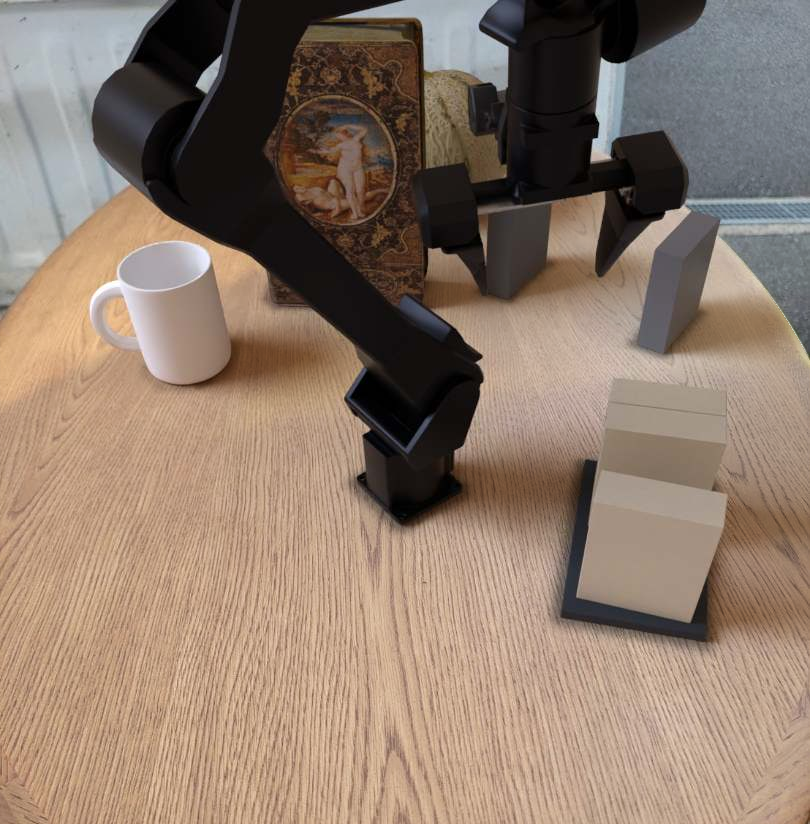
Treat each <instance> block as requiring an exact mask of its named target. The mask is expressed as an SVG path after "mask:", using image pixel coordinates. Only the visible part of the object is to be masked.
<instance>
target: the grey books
mask: <svg viewBox="0 0 810 824" xmlns="http://www.w3.org/2000/svg"><path fill="white" fill-rule="evenodd" d="M552 208H553V203H550V204H544V205H538V206H532V207H526V208H519V209H513V210H507V211H501V212H495V213H489V214H487V229H486V252H485V253H486V255H485V263H486V271H487V278H488V294H491V295H494V296H497V297H500V298H502V299H506V300H509V299H510V298H511V297H513V295H515V293H517V292H518V291H519V290H520V289H521V288H522V287H523V286H524V285H525V284H526V283H527V282H529V280H531V279H532V278H533V277H534V276H535V275H536V274H537V273H539V271H540V270H541V269H542V268H544V267H545V266H546V265H547V261H548V260H547V258H548V249H549V237H550V228H551V219H552ZM721 221H722V218H720V217H717V216H714V215H710V214H706V213H704V212H698V211H695V210H691V211H690V212H689V213H688V214H687V215H686V216H685V217H684V218H683V219H682V220H681V221H680V222H679V224H677V225H676V226H675V227H674V229H672V231H671V232H670V233H669V234H668V235H667V236H666V237H665V238H664V239H663V240H662V241H661V243H659V244H658V246H657V247H656V248H655V249H654V251H653V257H652V262H651V266H650V272H649V277H648V282H647V288H646V291H645V292H646V293H645V299H644V303H643V307H642V313H641V319H640V323H639V329H638V333H637V337H636V338H637V339H636V344H635V345H637V346H639V347H642V348H645V349H647V350H648V349H649V350H651V351H653V352H656V353H659V354H661V355H664V354H665V353H666V352H667V351H668V349H669V348H670V347H671V345H672V344H673V343H674V342H675V341H676V339H677V338H678V337H679V336H680V335H681V334H682V332H683V331H684V330H685V329H686V327H687V326H688V325H689V324H690V322H692V320H693V319H694V318H695V316H696V315H697V314H698V312H699V308H700V304H701V300H702V296H703V292H704V288H705V284H706V281H707V276H708V272H709V268H710V264H711V260H712V256H713V252H714V248H715V244H716V240H717V236H718V232H719V228H720V224H721Z"/></svg>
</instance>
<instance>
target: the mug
mask: <svg viewBox="0 0 810 824" xmlns="http://www.w3.org/2000/svg"><path fill="white" fill-rule="evenodd" d="M116 277H117V279H116V280H112V281H109V282H106V283H105V284H103V285H101V286H100V287H99V288H98V289H97V290H96V291H95V292H94V294H93V295H92V297H91V300H90V303H89V318H90V322H91V325H92V327H93V329H94V330H95V332H96V333H97V335H98V336H99V338H101V339H102V340H103V341H104V342H105V343H106V344H107V345H109V346H111V347H113V348H114V349H116V350H120V351H123V352H128V353H141V354H142V357H143V360H144V363H145V365H146V367H147V369H148V371H149V373H151V375H152V376H153V377H155V378H156V379H157V380H159V381H162V382H163V383H167V384H172V385H180V386H182V385H184V386H185V385H194V384H198V383H202V382H204V381H207V380H209V379H211V378H213V377H215V376H216V375H218V374H219V373H220V372H221V371H223V369H225V367H226V366H228V365H227V364H228V363H229V361H230V359H231V356H232V344H231V339H230V338H231V337H230V335H229V330H228V325H227V321H226V317H225V312H224V307H223V303H222V298H221V295H220V294H221V293H220V290H219V285H218V282H217V278H216V273H215V268H214V264H213V259H212V256H211V254H210V252H209V251H208V250H207V249H206V248H205V247H203V246H201V245H199V244H198V243H195V242H191V241H185V240H165V241H158V242H155V243H150V244H147V245H144V246H142V247H139V248H137V249H135V250H134V251H132V252H130V253H128V254H127V255H126V256H125V257H124V258H122V260H121V261H120V262H119V264H118V266H117V269H116ZM122 298H124V301H125V305H126V307H127V312H128V314H129V317H130V321H131V323H132V324H131V325H132V327H133V330H134V333H135V336H125V335H122V334H119V333H117V332H116V331H115V330H113V328H112V327H111V326H110V324H109V322H108V320H107V318H106V308H107V305H108V304H109V303H110V302H111V301H113V300H117V299H122Z"/></svg>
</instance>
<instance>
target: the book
mask: <svg viewBox="0 0 810 824" xmlns="http://www.w3.org/2000/svg"><path fill="white" fill-rule="evenodd" d="M424 52H425V51H424V30H423V24H422V22H421V20H420V19H419V18H417V17H414V16H412V17H409V16H408V17H407V16H406V17H404V16H399V17H397V16H396V17H395V16H393V17H391V16H390V17H389V16H388V17H336V18H332V19H328V20H324V21H320V22H316V23H312V24H310V25H309V26H308V28H307V30H306V32H305V33H304V35H303V37H302V39H301V40H300V42H299V44H298V46H297V47H296V49H295V52H294V56H293V60H292V65H291V70H290V75H289V79H288V84H287V89H286V93H285V98H284V103H283V108H282V112H281V116H280V119H279V121H278V123H277V125H276V127H275V129H274V130H273V132H272V134H271V136H270V137H269V139H268V141H267V142H266V144H265V146H264V148H263V149H262V150H263V151H264V153H265V154H266V156H267V157H268V159H269V160H270V162H271V163H272V165H273V167H274V168H275V170H276V172H277V175H278V177H279V180H280V183H281V185H282V188H283V190H284V193H285V196H286V197H287V199H288V201H289V202H290V204H291V205H292V206H293V207H294V208H295V209H296V210H297V211H298V212H299V213H300V214H301V215H302V216H303V217H304V218H305V219H306V220H307V221H308V222H309V223H310V224H311V225H312V226H313V227H314V228H315V229H316V230H317V231H318V232H319V233H320V234H321V235H322V236H323V237H324V238H325V239H326V240H327V241H328V242H329V243H330V244H331V245H332V246H333V247H334V248H335V249H336V250H338V251H339V252H340V253H341V254H342V255H343V256H344V257H345V258H346V259H347V260H348V261H349V262H350V263H351V264H352V265H353V266H354V267H355V268H356V269H357V270H358V271H359V272H360V273H361V274H362V275H363V276H364V277H365V278H366V279H367V280H368V281H369V282H370V283H371V284H372V285H373V286H374V287H375V288H376V289H377V290H378V291H379V292H380V293H381V294H382V295H383V296H384V297H385V298H386V299H387V300H388V301H389V302H390V303H391V304H392V305H393V306H394V307H397V305H398V304H399V302H400V300H401V299H402V297H403V296H404V294H405V293H406V292H407V293H408V294H410V295H411V296H413V297H414V298H415V299H417V300H418V301H419V302H421V303H422V304H423V302H424V301H423V300H424V296H425V279H426V277H427V276H428V275H427V274H428V268H429V248H428V247H426V246H423V243H422V239H421V235H420V231H419V226H418V222H417V218H416V214H415V210H414V206H413V201H412V189H411V180H412V178H413V177H414V175H415V174H416V172H417V171H418V170H420V169H426V132H425V90H424V70H425V54H424ZM265 272H266V278H267V284H268V291H269V294H270V300H271V302H272V303H273V304H275V306H280V307H281V306H286V307H287V306H288V307H289V306H290V307H309V306H308V305H307V304H306V303H305V302H304V301H302V300H301V299H300V298H299V297H298V296H296V295H295V294H294V293H293V292H292V291H291V290H289V289H288V288H287V287H286V286H285V285H284V284H282V283H281V282H280V281H279V280H278V279H276V278H275V277H274V276H273V275H272V274H271V273H269V272H268V271H267V270H266V269H265Z"/></svg>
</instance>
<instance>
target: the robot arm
mask: <svg viewBox="0 0 810 824" xmlns="http://www.w3.org/2000/svg"><path fill="white" fill-rule="evenodd" d="M403 1H404V2H405V0H167V1H166V2H165V3H164V4H163V5H162V6H161V7H160V8H159V9H158V10H157V11H156V12H155V13H154V15H153V16H152V17H151V18H150V19H149V20H148V21H147V22H146V24H145V25H144V27H143V28H142V29H141V31H140V33H139V35H138V37H137V39H136V41H135V43H134V46H132V49H131V51H130V53H129V55H128V56H127V58H126V60H125V62H124V63H123V66H122V67H121V68H118V69H116V70H114V72H113V73H112V74H111V75H109V77H107V79H106V80H105V81H104V82H103V83H102V85H101V86H100V88H99V90H98V93H97V94H96V96H95V99H94V100H93V107H92V113H91V117H90V119H91V120H90V121H91V128H92V134H93V137H92V141H93V144H94V146H95V148H96V150H97V152H98V154H99V155H100V156H101V157H102V158H103V159H104V161H105V162H106V163H107V164H108V165H109V166H110V167H111V168H112V169H113V170H114V171H115V172H116V173H118V174H119V175H120V176H121V177H122V178H123V179H125V180H126V181H127V182H128V183H129V184H130V185H132V187H134V188H135V189H136V190H137V191H138V192H139V193H140V194H142V196H144V197H145V198H146V199H148V201H150V203H152V204H153V205H154V206H155V207H156V208H157V209H158V210H159V211H161V212H162V213H163V214H164V215H165V216H167V217H168V218H170V219H171V220H173V221H175V222H177V223H178V224H180V225H182V226H184V227H186V228H188V229H190V230H192V231H193V232H196V233H197V234H199V235H201V236H203V237H205V238H207V239H208V240H210V241H212V242H214V243H216V244H218V245H221V246H223V247H226V248H229V249H232V250H234V251H238V252H240V253H243V254H245V255H247V257H248V256H249V258H251V259H253V260H254V261H255V262H256V263H257V264H259V265H260V266H262V268H263V269H265V271H266V270H267V271H268V272H269V273H271V274H272V275H273V276H274V277H275V278H276V279H278V280H279V281H280V282H281V283H282V284H284V285H285V286H286V287H287V288H288V289H289V290H291V291H292V292H293V293H294V294H295V295H296V296H298V297H299V298H300V299H301V300H302V301H304V302H305V303H306V304H307V305H308V306H307V307H309V308H311V309H312V310H313V311H314V312H315V313H316V314H317V315H319V316H320V317H321V318H322V319H323V320H324V321H326V322H327V323H328V324H329V325H330V326H332V327H333V328H334V329H335V330H336V331H337V332H339V333H340V334H341V335H343V337H345V338H346V339H347V340H348V341H349V342H350V343H351V344H352V346H353V347H354V349H355V352H356V354H357V355H356V356H357V358H358V360H359V361H360V363H361V364H362V365H363V367H362V369H361V370H360V372H359V373H358V375H357V376H356V378H355V379H354V381H353V383H352V384H351V386H350V387H349V388H348V390H347V392H346V393H345V394H344V397H343V401H344V403H345V405H346V406H347V408H348V410H349V411H350V412H351V414H352V415H354V417H356V418H358V419H359V420H360V421H361V422H362V423H363V424H365V425H366V426H367V427H368V428H369V430H368V431H367V432H364V433H363V434H362V444H363V445H362V446H363V456H364V467H365V471H363V472H361V473H360V474H357V476H356V483H357V485H358V486H359V487H360V488H361V489H362V491H364V492H365V493H366V494H367V495H368V496H369V497H370V498H371V499H372V500H374V502H375V503H376V504H377V505H378V506H379V507H380V508H381V509H382V510H383V511H384V512H385V513H386V514H387V515H389V516H390V518H391V519H392V520H393V521H394V522H395V523H396V524H398V525H406V524H408V523H409V522H411V521H413V520H415V519H417V518H418V517H420V516H422V515H424V514H425V513H428V512H429V511H430V510H432V509H434V508H436V507H438V506H439V505H441V504H443V503H445V502H446V501H448V500H451V499H452V498H454V497H455V496H457V495H459V494H460V493H462V492H463V487H464V486H463V484H462V482H461V481H460V480H459V479H458V478H456V477H455V476H454V475H453V474H452V472H454V469H455V451H458V450H459V449H461V448H463V447H464V445H465V444H466V440H467V436H468V434H469V431H470V428H471V425H472V422H473V420H474V416H475V413H476V410H477V407H478V404H479V401H480V398H481V385H482V384H483V383H484V382H485V374H484V371H483V369H482V367H481V366H480V365H479V364H478V363H477V362H479V361H481V360H482V359H483V357H484V354H483V353H481V352H480V351H478V350H477V349H475V348H474V347H473V346H471V345H470V344H469V343H468V342H466V341H465V339H464V337H463V336H462V334H461V333H460V332H459V331H458V329H457V328H456V327H455V326H454V325H452V324H450V323H449V322H447V320H445V319H444V318H442V317H441V316H439V315H438V314H437V313H436V312H434V311H433V310H432V309H430V308H429V307H428V306H426V305H425V304H424V303H423V302H422V303H421V302H419V301H418V300H417V299H415V298H414V297H413V296H411V295H410V294H408V293H407V292H406V293H405V294H404V296H403V297H402V299H401V300H400V302H399V304H398V305H397V307H394V306H393V305H392V304H391V303H390V302H389V301H388V300H387V299H386V298H385V297H384V296H383V295H382V294H381V293H380V292H379V291H378V290H377V289H376V288H375V287H374V286H373V285H372V284H371V283H370V282H369V281H368V280H367V279H366V278H365V277H364V276H363V275H362V274H361V273H360V272H359V271H358V270H357V269H356V268H355V267H354V266H353V265H352V264H351V263H350V262H349V261H348V260H347V259H346V258H345V257H344V256H343V255H342V254H341V253H340V252H339V251H338V250H336V249H335V248H334V247H333V246H332V245H331V244H330V243H329V242H328V241H327V240H326V239H325V238H324V237H323V236H322V235H321V234H320V233H319V232H318V231H317V230H316V229H315V228H314V227H313V226H312V225H311V224H310V223H309V222H308V221H307V220H306V219H305V218H304V217H303V216H302V215H301V214H300V213H299V212H298V211H297V210H296V209H295V208H294V207H293V206H292V205H291V204H290V202H289V201H288V199H287V197H286V196H285V193H284V190H283V188H282V185H281V183H280V180H279V177H278V175H277V172H276V170H275V168H274V167H273V165H272V163H271V162H270V160H269V159H268V157H267V156H266V154H265V153H264V151H263V150H262V149H263V148H264V146H265V144H266V142H267V141H268V139H269V137H270V136H271V134H272V132H273V130H274V129H275V127H276V125H277V123H278V121H279V119H280V116H281V112H282V108H283V103H284V98H285V93H286V89H287V84H288V79H289V75H290V70H291V65H292V60H293V56H294V52H295V49H296V47H297V46H298V44H299V42H300V40H301V39H302V37H303V35H304V33H305V32H306V30H307V28H308V26H309V25H310V24H312V23H316V22H320V21H324V20H328V19H332V18H341V17H344V16H348V15H352V14H356V13H360V12H363V11H367V10H372V9H375V8H380V7H383V6H387V5H388V6H389V5H392V4H396V3H399V2H403ZM707 1H708V0H497V1H496V2H495V3H493V4H492V5H490V7H489V8H488V9H487V10H486V11H485V13H484V14H483V16H482V17H481V19H480V20H479V22H478V30H479V31H480V32H481V33H483V34H484V35H486V36H488V37H490V38H492V39H493V40H494V41H497V42H498V43H500V44H502V45H504V46H506V47H507V87H505V89H501V90H498V89H497V88H498V87H497V86H496V85H495V84H494V83H493V82H491V81H488V82H483V83H482V84H475V85H469V86H468V116H469V126H470V130H471V132H472V133H473V134H474V135H475V136H476V137H479V136H485V135H491V134H495V140H496V141H498V158H499V161H500V164H501V165H506V164H507V168H506V173H505V176H506V177H503V178H501V179H495V180H489V181H483V182H477V183H471V181H470V178H469V175H468V172H467V168H466V165H465V162H464V163H457V164H451V165H445V166H439V167H433V168H427V169H420V170H418V171H417V172H416V174H415V175H414V177H413V178H412V180H411V189H412V201H413V206H414V210H415V214H416V218H417V222H418V226H419V231H420V235H421V239H422V243H423V246H426V247H428V249H431V250H435V249H440V250H441V253H443V254H444V255H447V256H451V255H457V257H458V258H459V259H460V260H461V262H462V263H463V264H464V265H465V267H466V268H467V270H468V271H469V272H470V274H471V276H472V277H473V280H474V282H475V285H476V286H477V288H478V291H479V293H480V295H481V297H483V298H485V297H488V294H489V293H488V278H487V271H486V255H485V249H484V243H483V239H482V236H481V232H480V219H479V216H481V215H488V214H489V213H495V212H501V211H507V210H513V209H519V208H526V207H532V206H538V205H544V204H550V203H552V204H555V203H562V202H565V201H567V199H572V198H579V197H586V196H591V195H593V194H598V193H603V192H604V208H603V213H602V217H601V223H600V228H599V233H598V239H597V245H596V248H595V260H594V262H595V263H594V272H595V275H596V276H597V278H598V279H599V278H601V279H602V278H604V277H605V276H606V274H607V273H608V272H609V271H610V270H611V268H612V267H613V265H615V263H616V262H617V260H619V258H620V257H621V256H622V254H624V252H625V251H626V250H627V248H629V246H630V245H631V244H632V243H633V242H634V241H635V240H636V239H638V237H640V235H641V234H642V233H644V231H645V230H646V229H647V228H649V226H650V225H651V224H652V223H654V222H659V221H661V220H663V219H664V218H665V216H666V212H669V211H675V210H680V209H681V208H682V207H683V206H684V205H685V204H686V200H687V197H688V196H687V195H688V190H689V187H690V174H689V169H688V167H687V165H686V164H685V162H684V159H683V158H682V156H681V154H680V152H679V151H678V148H677V147H676V145H675V143H674V141H673V140H672V138H671V136H669V135H668V133H667V132H665V130H663V129H662V130H661V129H660V130H655V131H648V132H643V133H637V134H636V133H635V134H631V135H625V136H624V135H623V136H619V137H616V138H615V139H613V140H612V142H611V145H610V146H611V147H610V154H609V155H610V158H607V159H606V158H605V159H598V160H593V161H592V153H593V152H592V151H593V142H594V141H593V140H595V139H596V140H597V139H599V133H600V121H599V119H598V117H597V115H596V112H597V105H598V104H597V101H598V95H599V94H598V93H599V83H600V73H601V62H602V59H603V60H604V61H605V62H607V63H610V64H614V65H615V64H617V65H620V64H624V63H627V62H629V61H631V60H633V59H635V58H636V57H638V56H640V55H643V54H644V53H645V52H648V51H650V50H652V49H653V48H655V47H658V46H659V45H661V44H663V43H665V42H667V41H668V40H670V39H672V38H674V37H676V36H677V35H678V36H679V35H680V34H681V33H683V32H685V31H687V30H689V29H690V28H692V27H693V26H695V24H697V22H698V21H699V19H700V18H701V17H702V15H703V13H704V10H705V9H706V5H707ZM220 57H221V58H220ZM219 58H220V62H219V66H218V71H217V75H216V77H215V78H214V80H213V82H212V84H211V86H210V87H209V89H208V91H207V92H205V91H204V90H203V89H201V88H199V86H197V85H198V83H199V81H200V79H201V77H202V75H203V73H205V72H206V70H207V69H209V68H210V66H212V65H213V64H214V62H215V61H217V60H218V59H219Z"/></svg>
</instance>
